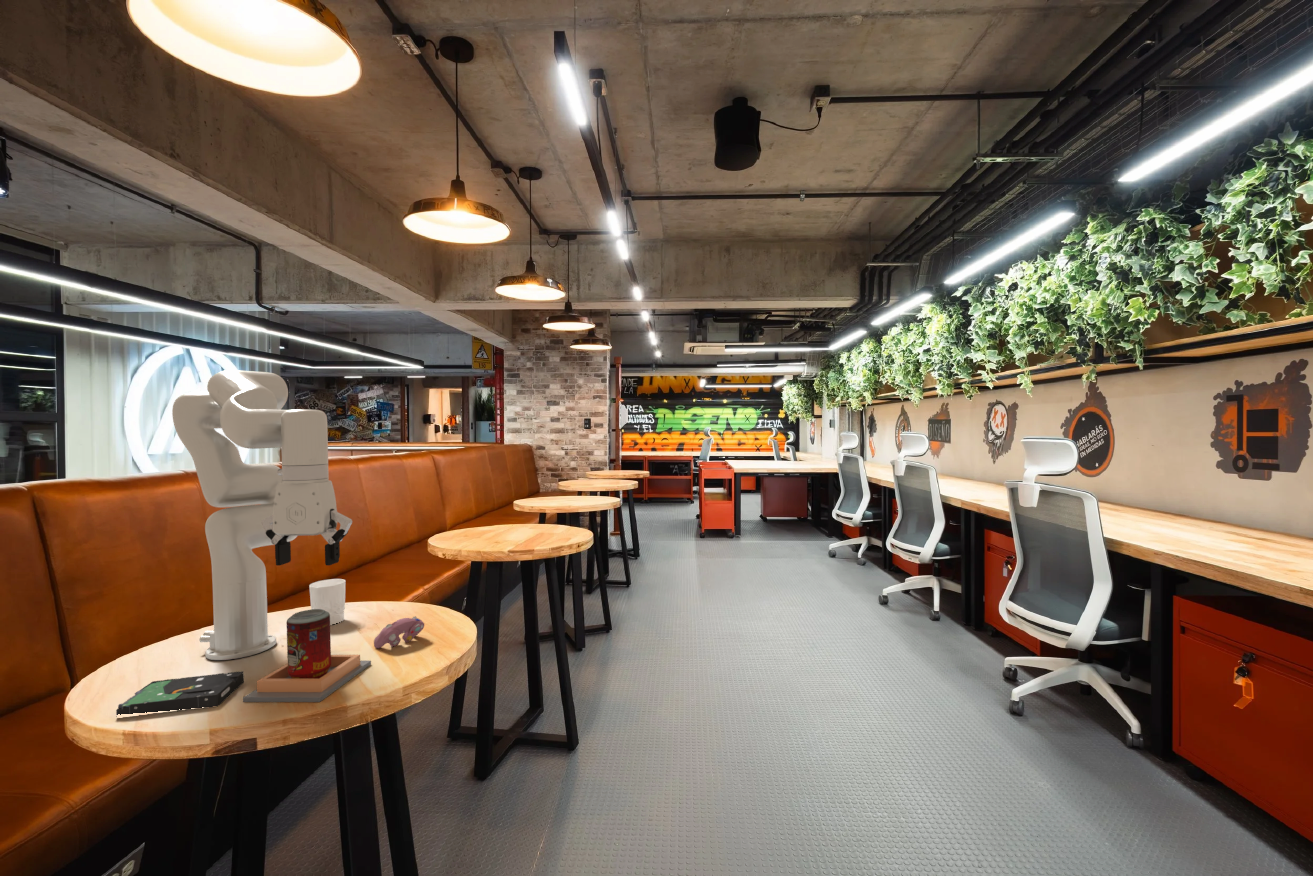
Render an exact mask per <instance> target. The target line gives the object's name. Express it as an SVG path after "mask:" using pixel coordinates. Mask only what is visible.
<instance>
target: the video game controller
mask: <svg viewBox="0 0 1313 876" xmlns="http://www.w3.org/2000/svg"><path fill="white" fill-rule="evenodd" d="M424 628H425V622H424V621H423V620H422V619H420V618H418V617H417V616H412V617H411V618H410V617H403V618H400V619H397V620H395V621H394V622H392V623H388V624H387V625H385V627H383V628H381V631H380V632H379V633H378V634H377V635H376V636H375V638H374V640H373V647H374V648H375V649H380V648H383V646H385V645H386V644H389V645H390V647H392V648H393V646H394V647H396V645H397V646H398V645H400V643H401V639H402V640H403V641H404V642H405V643H409V641H410V642H411V641H413V639H414V638H415V637H416V636H419V635H418V634H420V633H421V632H422V631H423V629H424ZM402 634H403V635H402ZM400 635H402V638H401V637H400Z"/></svg>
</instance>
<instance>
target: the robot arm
mask: <svg viewBox="0 0 1313 876" xmlns="http://www.w3.org/2000/svg"><path fill="white" fill-rule="evenodd" d="M206 388H207V391H193V392H189V393H184V394H182V395H180V396H178V397H177V398H176V399H175V400H174V402H173V404H172V413H171V414H172V423H173V425H174V429H175V431H176V434H177V436H178V438H179V440H180V441H181V442H182V445H184V447H185V448H186V450H187V451H188V453H189V454H190V456H191V458H192V461H193V464H194V468H195V471H196V476H197V478H198V482H199V485H200V487H201V489H200V490H201V492H202V495H203V497H204V499H205V501H206V502H207V504H208V505H210V506H211V507H214V508H223V509H219V510H217V511H214V512H213V513H212V514H210V515H209V516H208V518H207V520H206V522H205V525H204V532H205V536H206V542H207V544H208V549H209V555H210V561H211V579H212V605H213V606H212V607H213V611H212V612H213V614H212V615H213V629H212V630H211V629H210V630H209V629H208V630H205V631H204V632H203V634H202V635H201V636H200V638H199V642H200V643H209V647H208V648H207V649H206V650H205V658H207V660H212V661H227V660H236V659H241V658H247V657H250V656H255V655H257V654H260V653H262V652H264V651H267V650H269V649H271V648H272V647H274V646H275V645H276V644H277V637H276V636H275V635H272V634H269V631H268V630H269V628H268V626H269V625H268V624H269V623H268V598H267V597H268V591H267V572H266V571H267V569H266V566H265V563H264V561H263V560H262V559H261V558H260V557H259V556H257V555H256V554H255V553H254V551H253V550H254V549H256V548H260V547H261V548H262V547H267V546H274V555H275V556H274V557H275V566H283V565H286V564H288V563H291V561H292V553H291V552H292V550H291V549H292V548H291V547H292V546H291V542H292V541H293V540H295V539H296V538H297V537H298V536H318V535H321V536H322V537H323V539H324V540H325V541H326V542H327V543H326V544H325V545H324V561H325V562H324V564H325V566H332V565H334V564H337V563H339V562H340V556H341V553H340V552H341V550H340V542H342V541H343V539H344V538H345V537H346V536H347V534H348V533H349V530H350V529H351V525H352V524H353V519H352V518H350V517H348V516H346V515H344V514H342V513H340V512H339V511H338V508H337V501H336V500H337V499H336V493H335V489H334V484H333V482H332V480H329V479H330V478H329V474H330V473H329V445H328V443H329V441H328V437H329V435H328V432H329V431H328V417H327V414H326V413H325V412H324V411H323V410H319V409H283V407H284V406H285V404H286V402H287V401H288V397H289V390H288V385H287V383H286V381H285V380H284V379H283V377H281V376H280V375H278V374H276V373H273V372H267V371H266V372H265V371H253V370H242V369H241V370H238V369H228V370H221V371H219V372H217V373H215V374H213V375H212V376H211V377H210V378H209V380H208V382H207V387H206ZM216 429H221V430H222V432H223V433H224V435H223V434H222V433H220V432H218V431H217V430H216ZM237 446H238V447H241V448H245V449H251V450H254V449H257V450H258V449H274V448H275V449H276V448H277V449H279V448H281V468H280V467H279V466H277V465H275V464H271V463H253V464H248V463H245V462H243V461H242V457H241V454H240V451H239V449H238V447H237ZM338 523H339V525H340V526H339V529H337V526H338Z"/></svg>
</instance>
